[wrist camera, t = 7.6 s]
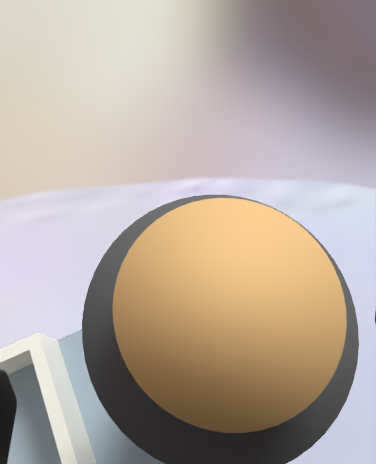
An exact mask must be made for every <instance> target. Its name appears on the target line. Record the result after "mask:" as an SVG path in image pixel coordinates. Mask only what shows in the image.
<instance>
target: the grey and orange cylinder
mask: <svg viewBox="0 0 376 464" xmlns="http://www.w3.org/2000/svg"><path fill="white" fill-rule="evenodd" d="M82 343H83V350H84V357H85V362H86V366H87V370H88V373H89V377H90V380H91V383H92V385H93V387H94V389H95V392H96V394H97V396H98V399H99V400H100V402H101V404H102V405H103V407H104V409H105V410H106V412H107V414H108V415H109V417H110V418H111V419H112V420H113V422H114V423H115V424H116V425H117V427H118V428H119V429H120V430H121V432H122V433H123V434H125V435H126V436H127V437H128V438H129V439H130V440H131V441H132V442H133V443H134V444H135V445H136V446H137V447H139V448H140V449H142V450H143V451H145V452H146V453H147V454H149V455H150V456H152V457H153V458H155V459H157V460H159V461H161V462H163V463H165V464H286V463H288V462H290V461H292V460H294V459H295V458H297V457H298V456H299V455H301V454H302V453H303V452H305V451H306V450H308V449H309V448H310V447H312V446H313V445H314V444H315V443H316V442H317V441H318V440H319V439H320V438H321V437H322V436H323V435H324V434H325V433H326V431H327V430H328V429H329V427H330V426H331V425H332V423H333V422H334V421H335V419H336V418H337V416H338V414H339V413H340V411H341V409H342V407H343V405H344V403H345V402H346V400H347V397H348V394H349V391H350V389H351V386H352V383H353V380H354V375H355V371H356V366H357V359H358V347H359V341H358V324H357V318H356V313H355V307H354V304H353V301H352V297H351V294H350V291H349V289H348V286H347V284H346V282H345V279H344V277H343V275H342V273H341V271H340V270H339V268H338V266H337V265H336V263H335V261H334V259H333V258H332V257H331V255H330V254H329V253H328V252H327V250H326V249H325V248H324V246H323V245H322V244H321V243H320V242H319V241H318V240H317V239H316V238H315V237H314V236H313V235H312V234H311V233H310V232H309V231H308V230H307V229H305V228H304V227H303V226H302V225H301V224H300V223H298V222H297V221H295V220H294V219H292V218H291V217H289V216H288V215H286V214H284V213H282V212H280V211H278V210H277V209H275V208H273V207H271V206H268V205H265V204H263V203H260V202H257V201H254V200H250V199H246V198H242V197H236V196H228V195H202V196H193V197H189V198H184V199H179V200H176V201H174V202H171V203H168V204H165V205H163V206H161V207H158V208H156V209H154V210H152V211H150V212H149V213H147V214H146V215H144V216H142V217H141V218H139V219H138V220H136V221H135V222H134V223H133V224H132V225H130V226H129V227H128V228H127V229H126V230H124V231H123V233H122V234H121V235H120V236H119V237H118V238H117V239H116V240H115V241H114V242H113V243H112V245H111V246H110V248H109V249H108V250H107V252H106V253H105V254H104V256H103V258H102V259H101V261H100V263H99V265H98V267H97V269H96V270H95V273H94V275H93V278H92V280H91V283H90V285H89V288H88V292H87V296H86V300H85V304H84V312H83V320H82Z"/></svg>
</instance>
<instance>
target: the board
mask: <svg viewBox="0 0 376 464" xmlns="http://www.w3.org/2000/svg"><path fill="white" fill-rule="evenodd" d="M0 369H2V370H5V371H6V373H7V374H8V377H9V379H10V382H11V385H12V387H13V390H14V392H15V395H16V399H17V410H16V416H15V421H14V427H13V433H12V439H11V445H10V451H9V457H8V463H7V464H165V463H163V462H161V461H159V460H157V459H155V458H153V457H152V456H150V455H149V454H147V453H146V452H145V451H143V450H142V449H140V448H139V447H137V446H136V445H135V444H134V443H133V442H132V441H131V440H130V439H129V438H128V437H127V436H126V435H125V434H123V433H122V432H121V430H120V429H119V428H118V427H117V425H116V424H115V423H114V422H113V420H112V419H111V418H110V417H109V415H108V414H107V412H106V410H105V409H104V407H103V405H102V404H101V402H100V400H99V399H98V396H97V394H96V392H95V389H94V387H93V385H92V383H91V380H90V377H89V373H88V370H87V366H86V362H85V357H84V350H83V343H82V330H80V331H78V332H75V333H73V334H71V335H69V336H66V337H64V338H62V339H60V340H58V341H57V340H55V339H53V338H50V337H48V336H46V335H44V334H41V333H39V332H38V333H36V334H33V335H31V336H29V337H27V338H24V339H22V340H20V341H18V342H15V343H13V344H11V345H8V346H6V347H4V348H2V349H0Z"/></svg>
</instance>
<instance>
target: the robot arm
mask: <svg viewBox="0 0 376 464" xmlns="http://www.w3.org/2000/svg"><path fill="white" fill-rule="evenodd" d="M375 323H376V313H375ZM16 410H17V399H16V395H15V392H14V390H13V387H12V385H11V382H10V379H9V377H8V374H7V373H6V371H5V370H2V369H0V464H7V463H8V457H9V451H10V445H11V439H12V433H13V427H14V421H15V416H16Z"/></svg>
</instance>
